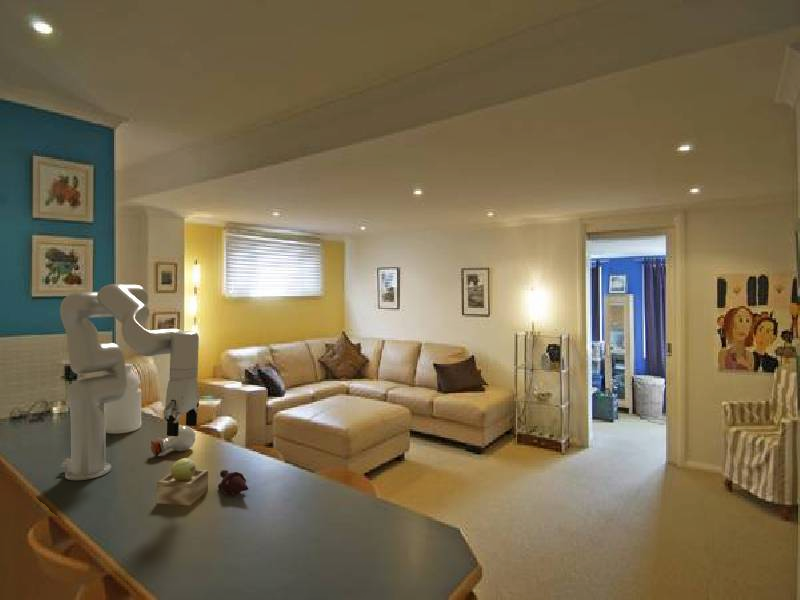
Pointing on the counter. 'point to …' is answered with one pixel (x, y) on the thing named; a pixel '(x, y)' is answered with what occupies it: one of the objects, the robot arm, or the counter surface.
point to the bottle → (125, 407)
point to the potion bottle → (174, 442)
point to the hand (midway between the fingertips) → (182, 430)
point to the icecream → (232, 483)
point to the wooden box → (182, 489)
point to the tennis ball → (183, 470)
